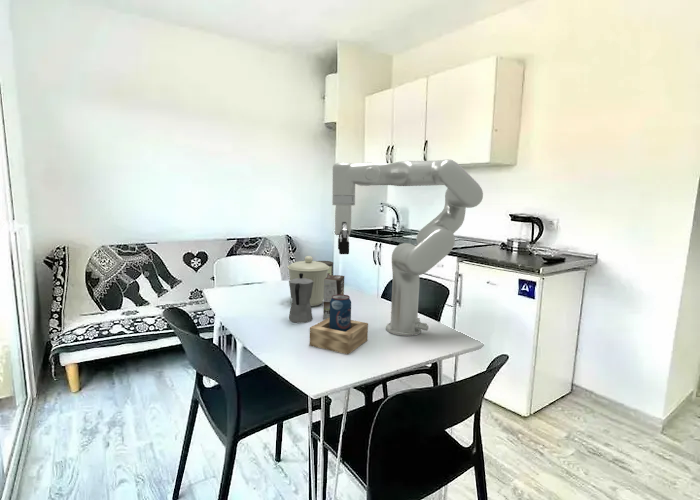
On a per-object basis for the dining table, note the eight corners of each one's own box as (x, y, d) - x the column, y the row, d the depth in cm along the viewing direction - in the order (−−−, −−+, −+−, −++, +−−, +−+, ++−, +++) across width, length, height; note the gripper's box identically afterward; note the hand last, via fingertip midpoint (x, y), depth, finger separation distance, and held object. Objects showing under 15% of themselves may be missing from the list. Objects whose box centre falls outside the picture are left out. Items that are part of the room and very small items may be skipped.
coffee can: (320, 286, 213) (320, 259, 211) (336, 290, 207) (337, 262, 205) (307, 290, 204) (308, 262, 202) (324, 294, 199) (325, 265, 197)
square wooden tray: (367, 340, 139) (368, 323, 138) (348, 354, 127) (348, 335, 126) (331, 332, 145) (331, 316, 145) (309, 345, 133) (309, 327, 132)
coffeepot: (291, 313, 166) (292, 269, 164) (315, 314, 166) (316, 270, 163) (283, 326, 151) (283, 277, 148) (309, 327, 150) (309, 278, 148)
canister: (321, 297, 193) (322, 252, 190) (334, 307, 176) (335, 258, 173) (282, 299, 186) (283, 253, 183) (292, 311, 170) (293, 260, 167)
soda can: (339, 337, 131) (340, 300, 129) (324, 331, 136) (325, 296, 134) (354, 332, 136) (355, 296, 134) (339, 327, 141) (340, 292, 139)
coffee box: (338, 321, 158) (340, 280, 156) (322, 320, 159) (323, 278, 157) (344, 314, 167) (345, 275, 165) (328, 313, 168) (329, 274, 166)
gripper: (331, 199, 146) (331, 248, 149) (333, 201, 129) (332, 256, 132) (353, 200, 147) (352, 248, 149) (357, 201, 130) (356, 256, 132)
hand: (343, 251), depth 140 cm, fingers open, 9 cm apart
